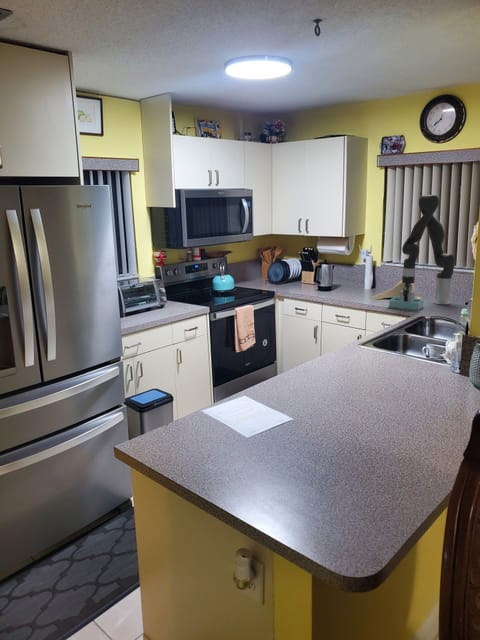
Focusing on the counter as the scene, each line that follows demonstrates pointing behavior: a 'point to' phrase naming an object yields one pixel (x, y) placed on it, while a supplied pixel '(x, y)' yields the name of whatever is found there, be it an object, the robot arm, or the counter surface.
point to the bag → (394, 292)
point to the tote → (406, 304)
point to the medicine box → (410, 296)
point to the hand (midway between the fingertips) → (406, 301)
